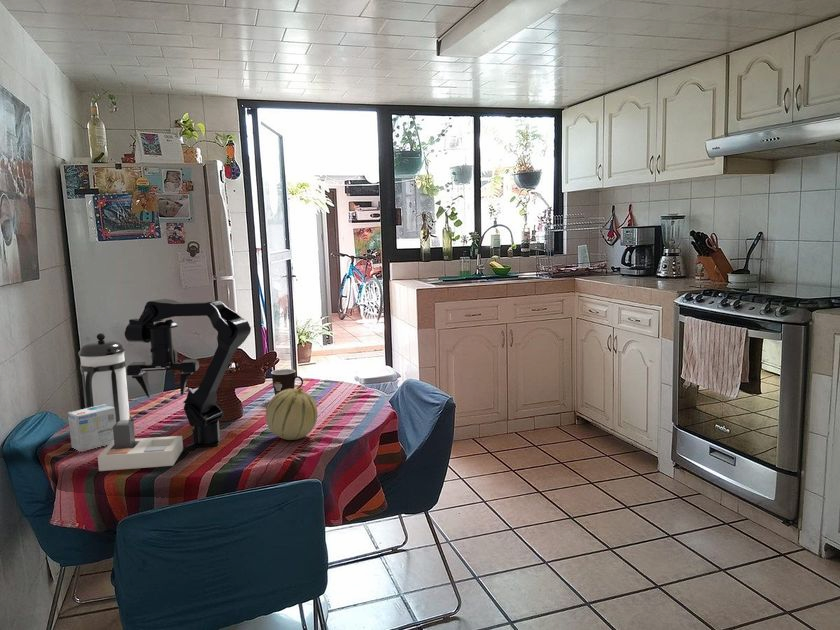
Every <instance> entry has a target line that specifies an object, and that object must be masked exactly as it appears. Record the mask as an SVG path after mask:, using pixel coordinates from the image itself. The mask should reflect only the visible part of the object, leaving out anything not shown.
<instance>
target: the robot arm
mask: <svg viewBox="0 0 840 630" xmlns="http://www.w3.org/2000/svg"><path fill="white" fill-rule="evenodd" d="M204 316H205V317H208V318H209V321H210V322H211V325H212V327H213V329H215V331H217V334H216V335H217V336H216V340H217V347H216V349H215V352H214V354H213V356H212V358H211V360H210V362H209V365H208V367H207V369H206V372H205V373H204V376H203V378H202V380H201V382H200V385H199V386H198V387H195V388H193V389H190V390H189V391H188V392H187V393H186V394H187V395H186V398H185V400H184V401H183V404H184V405H183V411H184V413H185V415H186V418H187V420H188V423H189V426H190V427H193V429H192V440H193V441H192V443H193V444H194V445H193V447H194V448H202V447H203V448H204V447H216V446H218V445H219V444H220V442H221V440H222V436H221V433H220V432H221V431H220V421H219V420H222V419H223V417H224V413H225V412H224V410H223V409H221V407H220V406H219V404H217V401H218V396H217V391H218V388H219V387H220V384H221V381H222V379H223V377H224V375H225V373H226V370H227V369H228V366H229V365H230V364H231V363H230V362H231V360H232V358H233V356H234V353H235V352H236V351H237V349H238V348H239V347H240V346H241V345H243V343H244V342H245V341H246V340H247V338H248V337H249V336H250V334H251V331H252V327H251V326H250V323H249V321H248V320H247V319H245V318H243V317H242V316H241V315H240V314H239V313H238V312H236V311H234V310H233V309H231V308H230V307H228V306H227V305H226V304H225V303H224V302H222V301H220V300H212V301H189V302H188V301H187V302H185V301H184V302H183V301H182V302H180V301H176V300H174V299H168V298H163V299H162V298H161V299H156V300H149V301H147V302H146V303H145V306H144V308H143V311H142V313H141V315H140V317H139V318H130V319H129V320H128V321H129V322H128V324H127V326H126V327H125V331H124V337H125V339H126V341H128V342H130V343H142V344H143V343H145V344H146V343H147V344H149V343H150V353H151V356H150V358H151V364H147V363H146V361H132V362H131V363H129V364H128V365H126V368H125V369H126V376H131V378H132V379H135V380H136V381H137V383H138V384H139V385H140V387H141V388H142V390H143V391H144V394H145V396H146V397H147V398H150V397H151V389H150V383H149V378H148V377H149V372H154V371H155V372H156V371H171V370H172V371H176V370H180V371H181V373H180V374H179V375H180V377H179V379H180V384H179V386H180V388H179V390H180V391H179V392H180V396H184V393H185V389H186V387H187V386H186V385H187V382H188V379H189V378H190V376H191V375H193V373H195V372H197V371H198V370H199V369H200V362H199V360H198V359H197V358H192V359H183V360H182V362H178V351H176V350H175V348H174V344H173V335H172V329H175V328H178V324H177V323H176V322H174V321H173V319H171V318H176V317H204ZM164 320H165V321H164Z"/></svg>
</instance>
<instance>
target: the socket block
mask: <svg viewBox="0 0 840 630" xmlns="http://www.w3.org/2000/svg"><path fill="white" fill-rule="evenodd" d="M183 444H184V443H183V435H173V436H158V437H146V438H145V437H144V438H135V445H136V446H135V447H134V448H133V449H131V448H126V449H115V446H114V440H113V441H112V442H111V443H110V444H109V445H107V446H105V448H104V449H103V450H102V451H101V452H100V453H99V454H98V455H97V463H98V472H105V471H115V470H116V471H119V470H130V469H142V468H143V469H144V468H145V469H146V468H159V467H171V466H174V465H175V463H176V461H178V458H179V457H180V455H181V454H182V452H183V451H184V445H183Z"/></svg>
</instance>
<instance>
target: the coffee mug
mask: <svg viewBox="0 0 840 630" xmlns="http://www.w3.org/2000/svg"><path fill="white" fill-rule="evenodd" d="M296 372H297V371H296V369H291V368H289V369H288V368H284V369H283V368H282V369H276V370H272V371H271V372H270V374H271V380H272V387H273V392H274V396H275V395H276V394H277V393H279V392H281V391H283V390H285V389H295V384H296V379H300V381H301V382H300V383H301V384H300V385H299V386H298V387H297V388H296V389H300V388H302V387H303V385H304V379H303V378H302V377H301V376H298V375H297V376H296Z"/></svg>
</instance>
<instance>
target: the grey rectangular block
mask: <svg viewBox="0 0 840 630" xmlns="http://www.w3.org/2000/svg"><path fill="white" fill-rule="evenodd" d="M134 422H135V421H134V420H133V421H131V420H130V419H129V420H120V421H119V422H117V423H116V424H115V425H114V426H113V435H114V446H115V449H126V448H131V449H133V448H134V447H135V446H136V445H135V439H136V436H135V425H134V424H135V423H134Z"/></svg>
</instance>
